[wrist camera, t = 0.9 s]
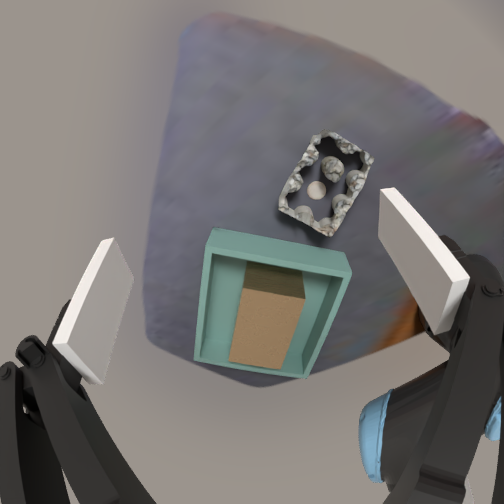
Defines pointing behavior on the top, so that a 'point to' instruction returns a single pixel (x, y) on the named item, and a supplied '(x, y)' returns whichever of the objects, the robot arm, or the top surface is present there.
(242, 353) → the tan cardboard block
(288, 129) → the top surface
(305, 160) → the egg carton
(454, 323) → the robot arm
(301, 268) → the tote
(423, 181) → the top surface
